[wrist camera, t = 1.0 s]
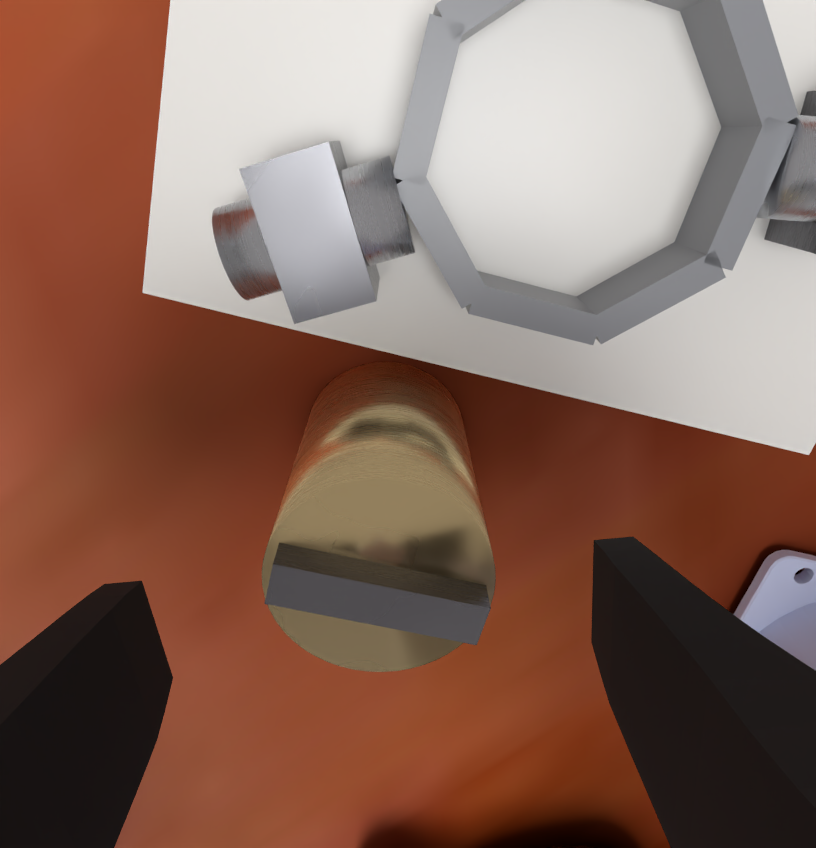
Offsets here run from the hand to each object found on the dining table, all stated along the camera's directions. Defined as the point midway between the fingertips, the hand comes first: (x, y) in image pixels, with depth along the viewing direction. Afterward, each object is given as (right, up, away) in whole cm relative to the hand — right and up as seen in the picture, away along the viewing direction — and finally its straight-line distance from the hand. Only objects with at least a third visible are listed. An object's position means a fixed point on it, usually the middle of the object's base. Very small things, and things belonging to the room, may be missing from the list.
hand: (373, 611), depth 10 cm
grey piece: (-1, +7, +3) cm, 8 cm away
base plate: (+4, +9, +4) cm, 10 cm away
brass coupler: (0, +3, +6) cm, 7 cm away
